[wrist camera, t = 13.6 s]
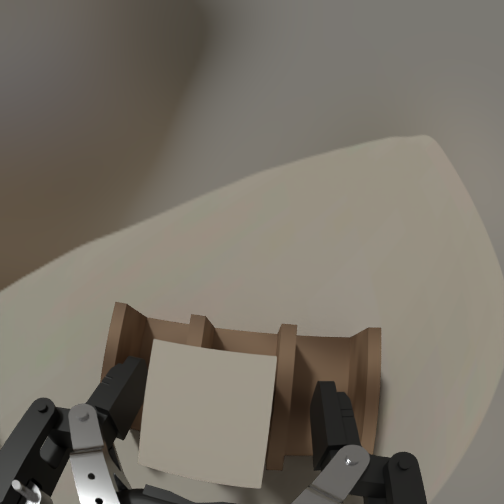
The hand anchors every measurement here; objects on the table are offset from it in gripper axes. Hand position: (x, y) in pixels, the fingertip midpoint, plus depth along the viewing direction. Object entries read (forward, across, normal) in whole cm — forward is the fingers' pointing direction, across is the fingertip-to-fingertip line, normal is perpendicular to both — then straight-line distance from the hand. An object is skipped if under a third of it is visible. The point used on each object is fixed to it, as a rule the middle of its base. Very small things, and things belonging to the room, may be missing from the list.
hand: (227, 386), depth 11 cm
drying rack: (+6, 0, +8) cm, 10 cm away
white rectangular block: (+6, 0, +7) cm, 9 cm away
